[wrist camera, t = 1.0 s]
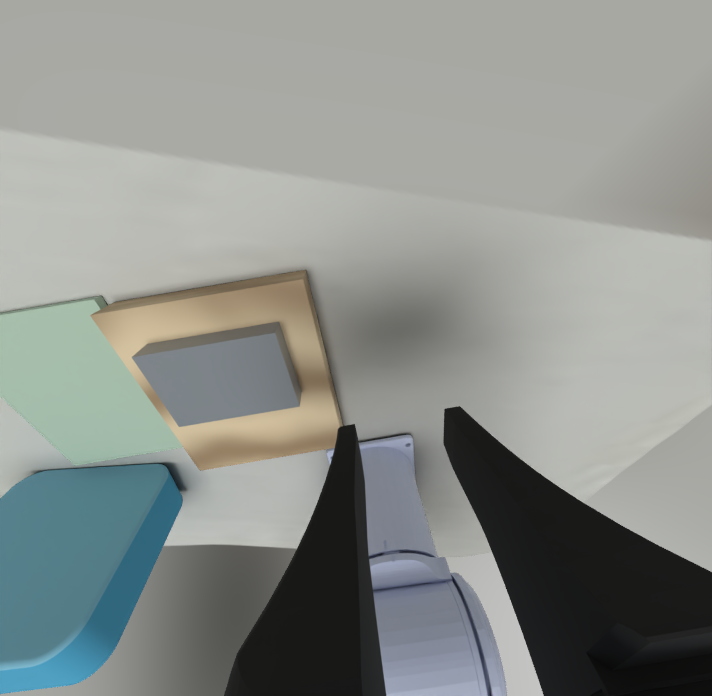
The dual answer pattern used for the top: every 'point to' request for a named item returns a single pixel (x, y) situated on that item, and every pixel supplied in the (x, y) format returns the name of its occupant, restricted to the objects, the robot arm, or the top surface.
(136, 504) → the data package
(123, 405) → the green mat
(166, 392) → the slate tile
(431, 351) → the top surface
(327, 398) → the oak board
